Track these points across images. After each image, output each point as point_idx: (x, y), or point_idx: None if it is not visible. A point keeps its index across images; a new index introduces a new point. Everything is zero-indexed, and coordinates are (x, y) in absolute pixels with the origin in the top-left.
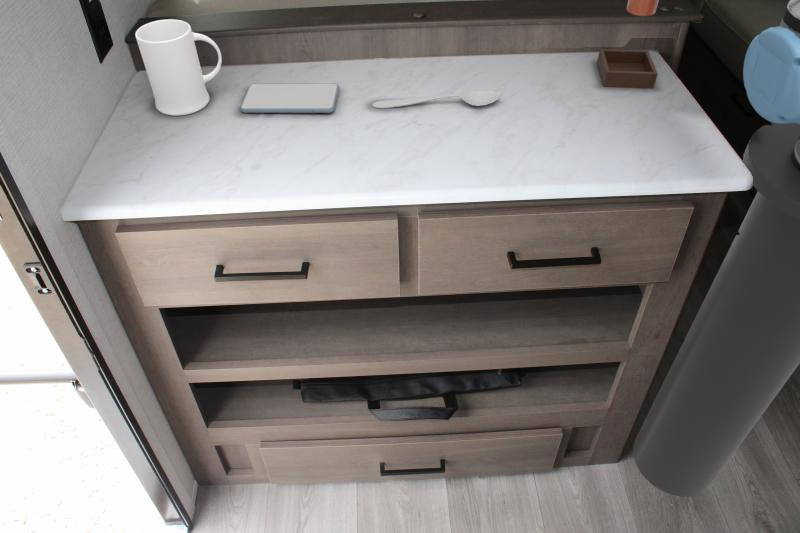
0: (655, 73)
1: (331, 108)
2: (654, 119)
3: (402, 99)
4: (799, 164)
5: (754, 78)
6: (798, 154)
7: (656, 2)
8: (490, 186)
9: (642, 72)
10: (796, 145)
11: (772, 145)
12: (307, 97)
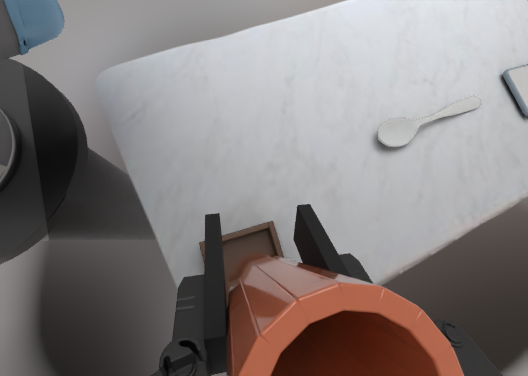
0: (202, 242)
1: (507, 71)
2: (195, 161)
3: (462, 112)
4: (15, 130)
5: None
6: (10, 139)
7: (231, 273)
8: (331, 8)
9: (222, 238)
10: (8, 160)
11: (42, 174)
12: None
